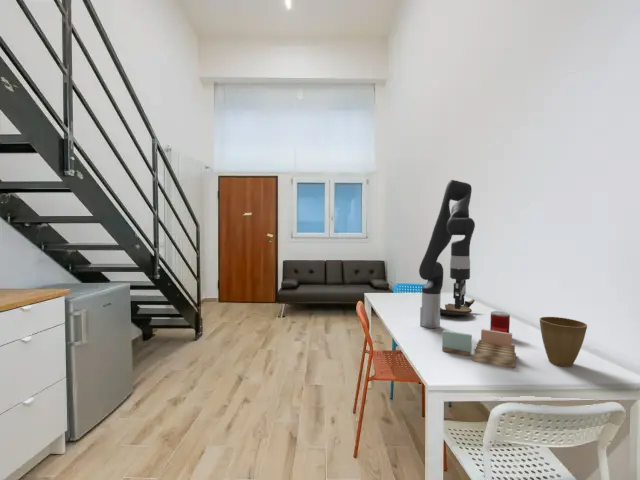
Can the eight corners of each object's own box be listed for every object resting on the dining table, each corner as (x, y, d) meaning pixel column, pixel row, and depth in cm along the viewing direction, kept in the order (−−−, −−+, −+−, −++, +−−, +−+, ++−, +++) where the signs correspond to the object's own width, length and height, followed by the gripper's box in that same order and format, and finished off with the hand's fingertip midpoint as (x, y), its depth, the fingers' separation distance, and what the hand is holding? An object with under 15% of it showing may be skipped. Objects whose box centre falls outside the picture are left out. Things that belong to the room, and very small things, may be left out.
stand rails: (442, 351, 148) (442, 347, 148) (444, 348, 152) (445, 345, 151) (468, 356, 143) (468, 352, 143) (470, 352, 146) (470, 349, 146)
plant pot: (568, 373, 126) (570, 328, 126) (529, 359, 140) (530, 318, 139) (594, 367, 132) (596, 324, 132) (554, 354, 146) (555, 314, 145)
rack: (472, 360, 138) (472, 349, 138) (478, 349, 151) (478, 338, 151) (513, 368, 131) (514, 356, 131) (516, 355, 144) (516, 344, 143)
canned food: (511, 339, 165) (512, 315, 165) (492, 338, 167) (493, 314, 166) (506, 334, 172) (506, 311, 172) (488, 333, 174) (488, 310, 174)
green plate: (442, 350, 149) (442, 331, 149) (443, 349, 151) (443, 330, 150) (470, 355, 144) (471, 335, 143) (471, 354, 145) (471, 334, 145)
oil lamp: (423, 310, 221) (423, 298, 221) (470, 310, 224) (470, 297, 223) (438, 319, 199) (438, 306, 198) (490, 319, 201) (490, 305, 201)
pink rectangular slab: (480, 349, 147) (481, 330, 147) (481, 348, 148) (481, 329, 148) (511, 354, 141) (511, 334, 141) (511, 353, 143) (512, 333, 142)
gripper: (453, 265, 154) (453, 303, 155) (446, 268, 142) (446, 309, 142) (472, 266, 150) (471, 304, 151) (467, 269, 138) (466, 311, 139)
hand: (459, 306), depth 147 cm, fingers open, 8 cm apart
